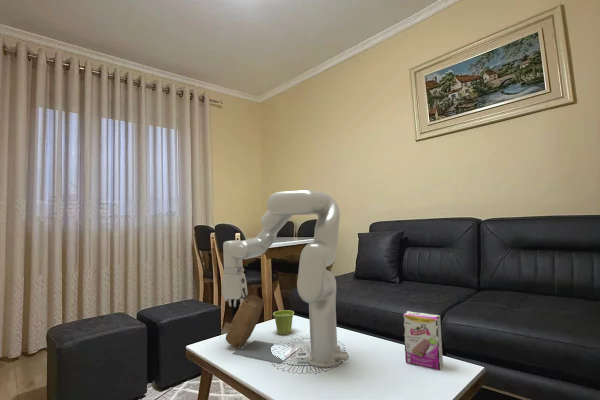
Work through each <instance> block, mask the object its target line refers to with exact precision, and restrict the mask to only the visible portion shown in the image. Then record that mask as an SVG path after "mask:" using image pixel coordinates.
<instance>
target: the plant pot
mask: <svg viewBox="0 0 600 400" xmlns="http://www.w3.org/2000/svg"><path fill="white" fill-rule="evenodd" d="M294 314H295V312H294V311H293V310H290V309H288V310H287V309H285V310H284V309H283V310H277V311H274V312H273V313H272V316H273V318H274V320H275V326H276V331H277V334H278V335H281V336H287V335H289V334H291V333H292V326H293V317H294Z"/></svg>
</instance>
